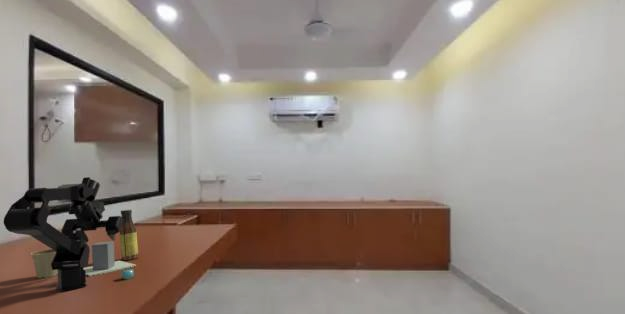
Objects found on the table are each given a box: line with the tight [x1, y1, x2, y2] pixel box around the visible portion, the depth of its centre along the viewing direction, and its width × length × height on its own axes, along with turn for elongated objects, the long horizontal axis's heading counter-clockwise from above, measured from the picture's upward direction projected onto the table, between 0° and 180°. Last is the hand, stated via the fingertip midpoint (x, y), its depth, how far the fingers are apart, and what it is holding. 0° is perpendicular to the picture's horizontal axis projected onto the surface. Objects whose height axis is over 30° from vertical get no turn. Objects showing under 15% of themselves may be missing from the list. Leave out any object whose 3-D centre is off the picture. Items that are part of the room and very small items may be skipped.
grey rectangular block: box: [91, 240, 116, 270], centre depth 148 cm, size 5×5×9 cm
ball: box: [120, 268, 134, 280], centre depth 134 cm, size 4×4×2 cm
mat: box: [83, 260, 137, 277], centre depth 150 cm, size 16×14×1 cm
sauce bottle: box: [119, 209, 139, 261], centre depth 166 cm, size 7×6×20 cm
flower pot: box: [29, 248, 58, 279], centre depth 144 cm, size 9×9×9 cm
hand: (101, 240), depth 147 cm, fingers open, 9 cm apart
